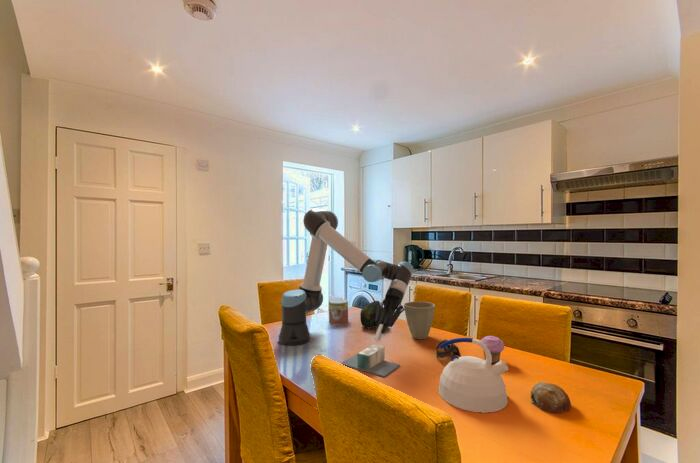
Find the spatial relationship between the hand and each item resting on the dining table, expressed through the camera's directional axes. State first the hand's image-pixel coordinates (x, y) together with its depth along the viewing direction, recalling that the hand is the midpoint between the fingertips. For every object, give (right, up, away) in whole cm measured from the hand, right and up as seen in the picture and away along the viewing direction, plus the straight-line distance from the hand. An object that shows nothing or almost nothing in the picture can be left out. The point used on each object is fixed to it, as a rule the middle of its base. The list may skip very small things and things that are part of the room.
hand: (377, 339), depth 129 cm
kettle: (+28, -8, -28) cm, 40 cm away
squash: (+2, -9, +46) cm, 47 cm away
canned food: (-18, -9, +57) cm, 60 cm away
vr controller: (+29, -8, +2) cm, 31 cm away
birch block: (+1, -5, +1) cm, 6 cm away
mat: (-3, -8, -5) cm, 10 cm away
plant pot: (+23, -8, +28) cm, 38 cm away
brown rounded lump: (+49, -8, -34) cm, 60 cm away
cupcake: (+45, -8, -3) cm, 46 cm away
